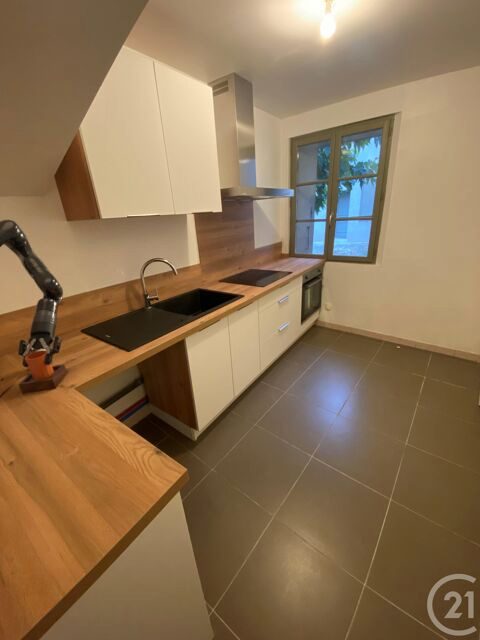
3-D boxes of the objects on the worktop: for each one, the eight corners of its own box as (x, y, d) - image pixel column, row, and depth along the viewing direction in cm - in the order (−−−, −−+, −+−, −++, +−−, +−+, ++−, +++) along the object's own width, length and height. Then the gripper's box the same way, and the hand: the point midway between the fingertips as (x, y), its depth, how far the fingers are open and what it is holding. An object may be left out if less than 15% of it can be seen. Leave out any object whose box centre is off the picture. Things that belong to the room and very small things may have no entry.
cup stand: (22, 393, 94) (18, 384, 93) (37, 377, 104) (34, 368, 103) (55, 388, 96) (52, 379, 94) (67, 372, 106) (64, 364, 105)
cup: (29, 382, 95) (20, 360, 92) (38, 372, 101) (30, 352, 98) (49, 379, 97) (41, 357, 93) (57, 369, 103) (49, 349, 99)
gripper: (68, 326, 106) (63, 365, 100) (31, 329, 105) (23, 370, 98) (57, 318, 99) (51, 360, 93) (17, 322, 98) (7, 365, 91)
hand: (36, 365), depth 96 cm, fingers closed on cup, 6 cm apart
